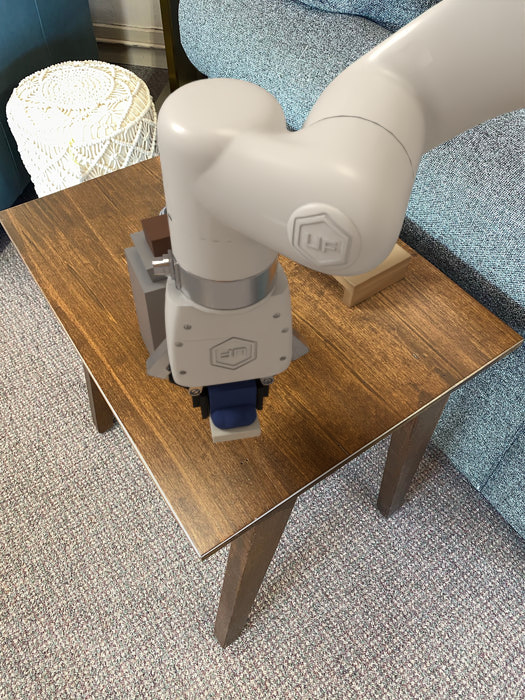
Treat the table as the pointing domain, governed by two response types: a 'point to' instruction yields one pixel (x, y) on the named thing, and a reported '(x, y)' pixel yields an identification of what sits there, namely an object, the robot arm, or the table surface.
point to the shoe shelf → (375, 277)
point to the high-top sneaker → (233, 410)
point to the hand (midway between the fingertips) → (230, 401)
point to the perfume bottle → (149, 278)
